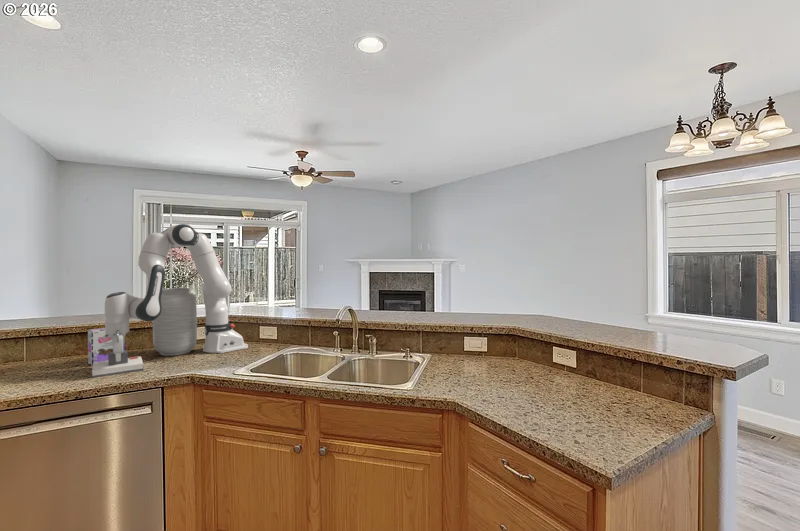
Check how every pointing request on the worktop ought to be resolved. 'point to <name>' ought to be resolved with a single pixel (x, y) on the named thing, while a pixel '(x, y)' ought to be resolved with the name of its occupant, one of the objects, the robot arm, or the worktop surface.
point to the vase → (176, 322)
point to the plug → (113, 358)
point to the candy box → (99, 345)
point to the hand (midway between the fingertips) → (118, 359)
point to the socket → (117, 367)
